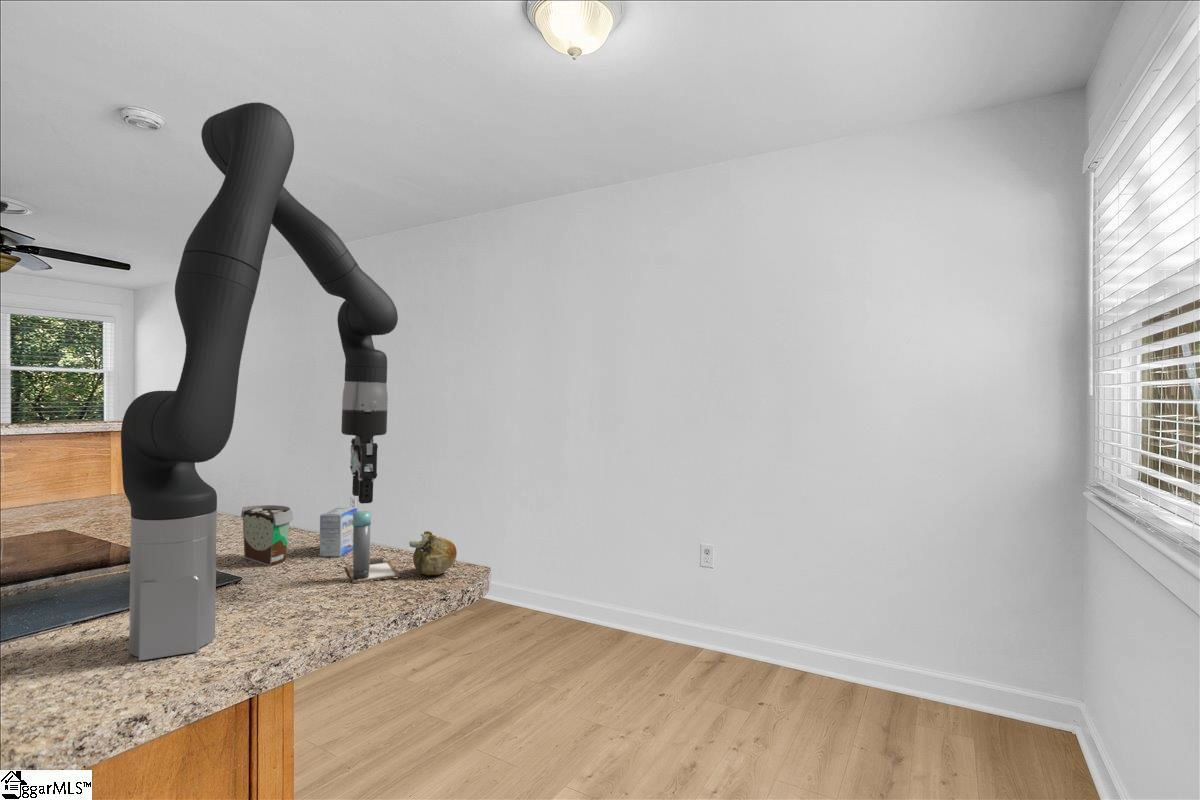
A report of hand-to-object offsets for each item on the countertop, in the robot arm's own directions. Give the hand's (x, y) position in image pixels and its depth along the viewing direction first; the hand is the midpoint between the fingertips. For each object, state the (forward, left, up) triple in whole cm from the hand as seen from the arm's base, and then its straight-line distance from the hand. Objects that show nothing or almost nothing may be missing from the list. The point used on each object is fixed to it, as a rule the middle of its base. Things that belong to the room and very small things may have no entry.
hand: (362, 499), depth 107 cm
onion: (-2, -13, -15) cm, 19 cm away
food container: (+21, +13, -15) cm, 29 cm away
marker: (0, 0, -14) cm, 14 cm away
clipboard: (+4, -3, -14) cm, 15 cm away
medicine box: (+21, +1, -15) cm, 26 cm away
